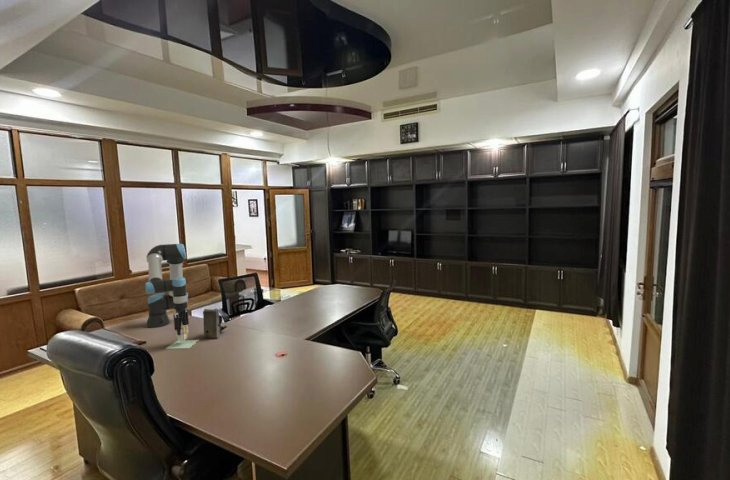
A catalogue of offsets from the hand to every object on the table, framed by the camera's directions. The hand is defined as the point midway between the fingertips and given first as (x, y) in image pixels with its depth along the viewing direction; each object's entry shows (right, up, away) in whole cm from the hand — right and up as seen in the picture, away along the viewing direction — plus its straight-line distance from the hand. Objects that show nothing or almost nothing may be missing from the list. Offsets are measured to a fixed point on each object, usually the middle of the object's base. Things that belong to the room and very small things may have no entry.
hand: (182, 338), depth 217 cm
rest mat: (0, -4, 0) cm, 4 cm away
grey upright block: (+14, -3, +17) cm, 22 cm away
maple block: (0, 0, 0) cm, 0 cm away
